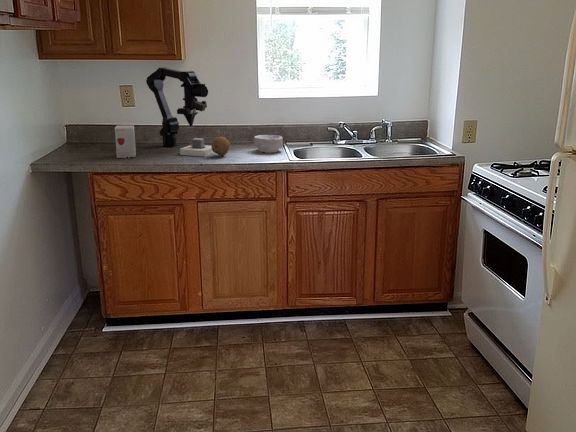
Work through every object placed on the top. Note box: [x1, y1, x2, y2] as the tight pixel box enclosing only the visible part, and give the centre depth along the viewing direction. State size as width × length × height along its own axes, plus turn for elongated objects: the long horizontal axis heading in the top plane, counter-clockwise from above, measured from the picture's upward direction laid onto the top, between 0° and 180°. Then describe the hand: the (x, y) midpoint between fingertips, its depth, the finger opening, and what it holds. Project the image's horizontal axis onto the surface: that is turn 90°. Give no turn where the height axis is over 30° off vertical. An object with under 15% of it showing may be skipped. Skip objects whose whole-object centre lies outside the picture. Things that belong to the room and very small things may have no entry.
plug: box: [191, 137, 205, 149], centre depth 286 cm, size 5×4×6 cm
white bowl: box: [253, 134, 284, 154], centre depth 293 cm, size 15×15×8 cm
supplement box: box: [114, 124, 137, 159], centre depth 276 cm, size 9×9×15 cm
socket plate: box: [179, 143, 216, 157], centre depth 287 cm, size 14×14×4 cm
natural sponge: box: [211, 136, 231, 157], centre depth 279 cm, size 9×9×10 cm
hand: (191, 126), depth 293 cm, fingers closed
